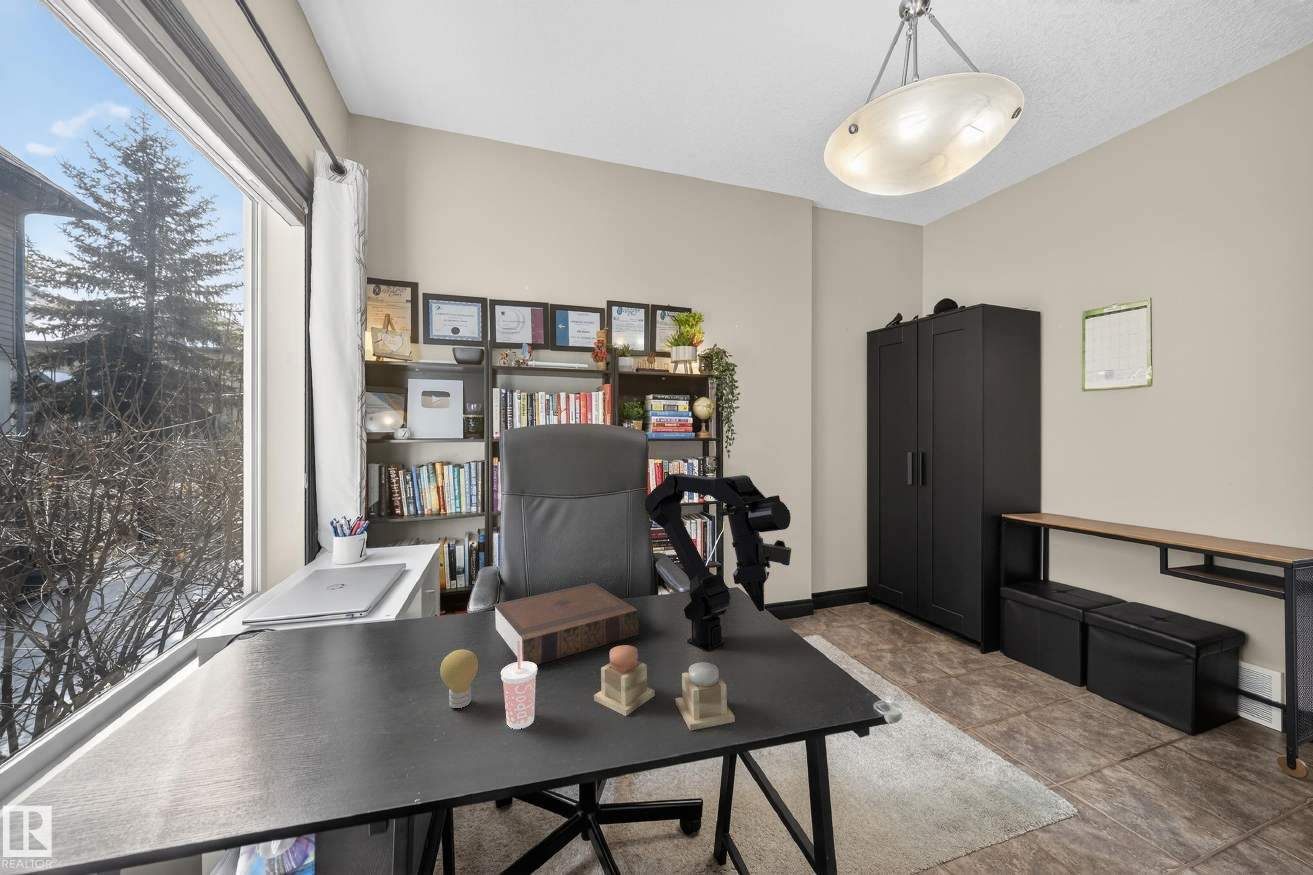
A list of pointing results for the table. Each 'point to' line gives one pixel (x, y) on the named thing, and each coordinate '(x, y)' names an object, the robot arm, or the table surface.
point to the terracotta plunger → (623, 658)
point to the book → (564, 622)
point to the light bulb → (459, 676)
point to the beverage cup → (519, 692)
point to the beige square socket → (704, 704)
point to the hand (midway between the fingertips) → (761, 610)
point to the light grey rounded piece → (703, 674)
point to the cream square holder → (624, 689)
